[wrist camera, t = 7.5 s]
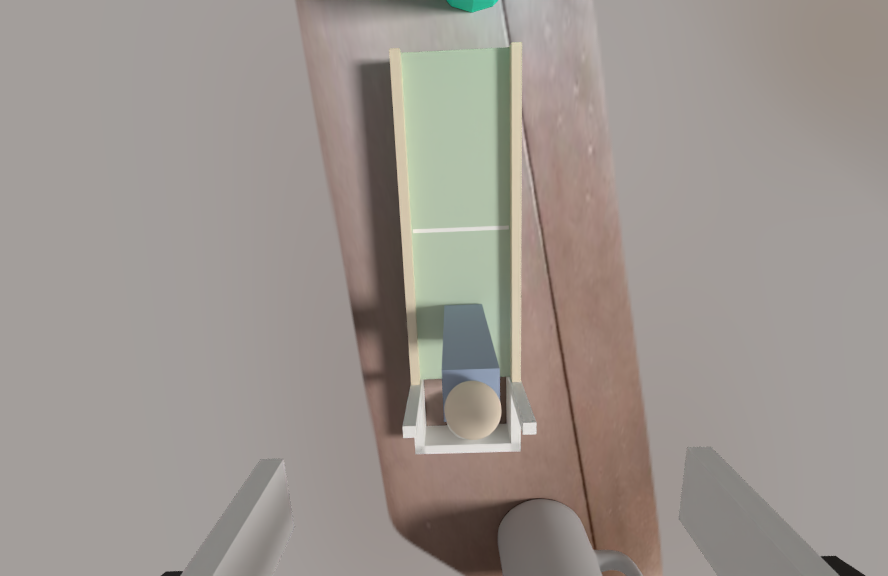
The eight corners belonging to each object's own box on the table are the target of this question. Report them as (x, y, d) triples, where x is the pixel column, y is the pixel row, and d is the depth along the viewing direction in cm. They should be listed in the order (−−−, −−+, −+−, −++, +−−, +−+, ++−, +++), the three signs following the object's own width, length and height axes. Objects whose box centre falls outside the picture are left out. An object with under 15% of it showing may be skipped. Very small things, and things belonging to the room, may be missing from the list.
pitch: (394, 61, 31) (389, 48, 28) (515, 55, 31) (522, 42, 28) (414, 369, 37) (411, 385, 34) (515, 366, 37) (520, 381, 34)
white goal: (413, 369, 37) (402, 426, 28) (515, 366, 37) (536, 422, 28) (417, 433, 38) (408, 506, 30) (515, 431, 38) (535, 503, 29)
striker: (444, 305, 33) (440, 397, 19) (481, 304, 33) (507, 394, 19) (445, 340, 34) (443, 455, 19) (482, 339, 34) (507, 453, 19)
